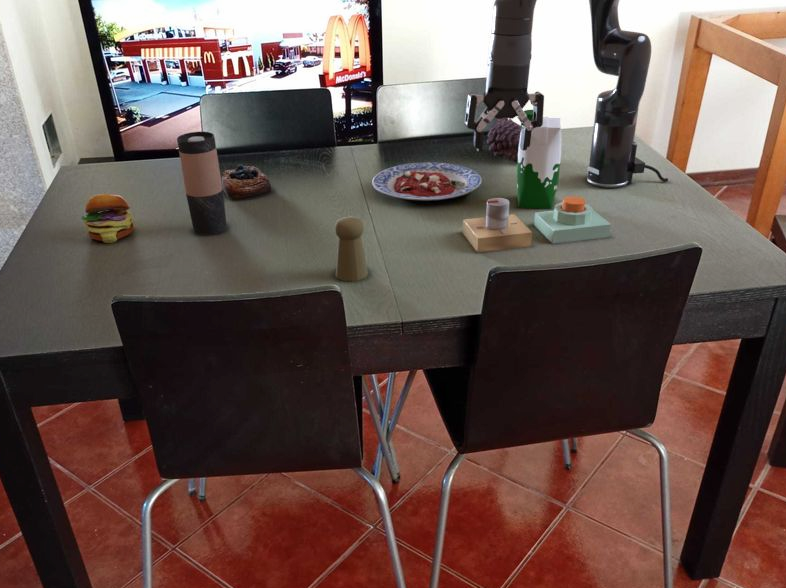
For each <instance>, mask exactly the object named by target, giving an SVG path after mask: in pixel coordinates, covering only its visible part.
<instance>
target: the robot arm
mask: <svg viewBox="0 0 786 588" xmlns="http://www.w3.org/2000/svg"><path fill="white" fill-rule="evenodd" d="M537 2H538V0H495V1H494V3H493V9H492V22H491V33H490V39H489V44H488V55H487V69H486V80H485V81H486V82H485V90H484V93H483V94H474V92H470V93H468V95H467V101H466V109H465V117H464V125H465V126H466V127H467V129H469V130H473V143H472V144H473V146H474V148H475V149H476V151H477V152H478V153H482V152H483V149H484V148H483V147H484V146H483V145H484V137H485V135H484V133H485V132H484V131H483V130H484V129H485V128H486V127H487V125H488V124H490V123H491V122H492V121H493V119H494V118H495V119H496V120H497V119H500V120H501V119H503V118H507V119H511V120H513V119H514V118H517V119H518V120H519V123H520V124H521V123H522V125H523V126H524V128H522V132H521V142H520V148H521V150H527V147H529V146H530V141H531V132H532V130H533V129H534V128H536V127H541V126H542V124H543V117H544V107H545V95H544V94H543V93H542V92H540V91H535V92H534V93H529V92H528V86H529V78H530V68H531V61H532V56H533V55H532V48H533V47H532V45H533V43H532V41H533V40H532V39H533V37H532V36H533V34H532V33H533V25H534V14H535V8H536V4H537ZM619 3H620V0H588V5H589V13H590V21H591V42H592V43H591V44H592V57H593V61H594V65H595V67H596V69H597V70H598V71H599V72H600V73H602V74H605V75H609V76H614V77H618V78H617V82H616V85H615V87H614V88H613V89H609V90H605V91H602V92H600V93H598V95H597V97H596V105H595V113H594V121H593V131H592V139H591V147H590V155H589V162H588V163H589V164H588V165H587V169H586V170H587V177H586V182H587V183H588V184H589V185H592V186H594V187H598V188H605V189H614V188H615V189H616V188H622V187H625V186H627V185H631V184H632V183H633V177H634V176H633V175H635V174H643V173H645V169H648V170H651V171H652V172H653V173H655V174H656V176H657V178H658V179H659V180H660V181H661V182H664V183H665V182H668V181H669V178H668V177H666V178H665V177H663V176H662V174H661V172H660V171H659V169H657V168H655V167H654V166H651V165H648V164H646V162H645V161H643V160H641V159H640V158H638V157H637V148H638V143H637V142H636V141H635V137H636V130H637V123H638V117H639V110H640V103H641V100H642V98H643V95H644V92H645V89H646V83H647V78H648V74H649V68H650V63H651V58H652V41H651V39H650V37H649V36H648V35H647V34H646V33H644V32H643V33H642V32H638V31H631V30H630V31H629V30H623V29H622V28H621V26H620V21H619ZM529 101H530V105H532V106H533V107H532V110H533V120H530V121H529V119H528V117H527V116H526V114H525V113H524V111H525V110H524V108H525V106H526V105H527V104H528V103H529ZM482 102H483V103H484V105H485V108H484V110H483V111H482V112H481V113H480V116H479V117H478V119H477V120H476V121H475V118H476V113H477V112H476V110H477V108H478V107H479V106H480V104H481V103H482Z"/></svg>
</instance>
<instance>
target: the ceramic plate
mask: <svg viewBox="0 0 786 588" xmlns="http://www.w3.org/2000/svg"><path fill="white" fill-rule="evenodd" d="M482 181H483V179H482V176H481V175H480V174H479V173H478V172H476V171H475V170H473V169H471V168H469V167H466V166H463V165H460V164H454V163H453V164H452V163H445V162H412V163H404V164H400V165H396V166H392V167H389V168H386V169H383V170H382V171H380V172H378V173H377V174H375V175H374V176H373V178H372V181H371V184H372V186H373V188H374V189H375V190H376V191H377V192H379V193H381V194H383V195H386V196H387V197H388V196H389V197H392V198H395V199H401V200H409V201H426V202H427V201H441V200H449V199H455V198H458V197H462V196H465V195H467V194H470V193H472V192H474V191H476V190H477V189H478V188H479V187H480V186H481V184H482Z"/></svg>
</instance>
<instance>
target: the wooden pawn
mask: <svg viewBox="0 0 786 588" xmlns="http://www.w3.org/2000/svg"><path fill="white" fill-rule="evenodd" d="M334 233H335V235H336V236H337V238H338V239H337V253H336V265H335V266H336V267H335V277H336V278H337V279H338V280H340V281H344V282H358V281H360V280H363V279H365V278H366V277H368V274H369V272H368V265H367V261H366V256H365V251H364V246H363V240H362V235H363V233H364V223H363V222H362V219H360V218H359V217H356V216H351V215H349V216H343V217H340V218H338V219H337V220H336V221H335V225H334Z"/></svg>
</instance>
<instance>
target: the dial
mask: <svg viewBox="0 0 786 588" xmlns="http://www.w3.org/2000/svg"><path fill="white" fill-rule="evenodd" d="M485 209H486V211H485V217H486V227H488V228H490V229H494V230H500V229H505V228H507V227H508V217H509V215H510V200H509V199H506V198H503V197H492V198H488V199H487V201H486V208H485Z"/></svg>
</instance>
